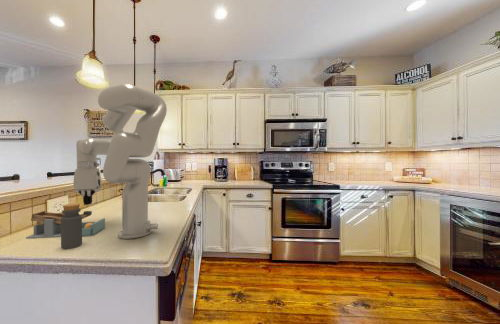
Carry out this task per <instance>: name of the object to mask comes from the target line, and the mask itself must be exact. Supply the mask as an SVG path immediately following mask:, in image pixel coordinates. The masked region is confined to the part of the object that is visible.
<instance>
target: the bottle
mask: <svg viewBox="0 0 500 324" xmlns="http://www.w3.org/2000/svg"><path fill="white" fill-rule="evenodd" d="M80 204H81V203H78V202H77V203H76V202H75V203H66V204H63V205H62V209H63V210H61V214H64V216H63V217H62V218H61V237H60V248H61V249H62V250H71V249H75V248H77V247H78V248H79V247H80V246H81V245H82V244H83V236H82V222H83V219H82V215H81V214H80V212H81V210H82V209H81V207H80V206H81V205H80Z"/></svg>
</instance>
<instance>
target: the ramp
mask: <svg viewBox="0 0 500 324" xmlns="http://www.w3.org/2000/svg"><path fill="white" fill-rule="evenodd" d="M92 213H93V211H92V210H84V211H83V213H82V214H80V215H82V220H83V219H86V218H88V217H90V216H92V215H93V214H92ZM63 216H64V214H63V213H60V212H59V213H58V212H48V211H45V210H42V211H40V212H34V213H32V214H31V219H30V221H31V222H36V225H44V220H46V219H54V223H58V224H61V218H62V217H63Z"/></svg>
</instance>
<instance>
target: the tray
mask: <svg viewBox="0 0 500 324" xmlns="http://www.w3.org/2000/svg"><path fill="white" fill-rule="evenodd" d="M87 223H93V224H91V225H90V228H84V226H85V225H86V224H87ZM104 229H106V218H105V217H103V218H101V219H99V220H98V221H88V222H86V221H85V222H83V221H82V237H92V236H93V237H94V236H95V235H96V234H98V233H100V232H101V231H102V230H104Z"/></svg>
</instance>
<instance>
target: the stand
mask: <svg viewBox="0 0 500 324" xmlns="http://www.w3.org/2000/svg"><path fill="white" fill-rule="evenodd" d="M25 237H26V238H25V239H44V238H61V224H58V223H54V219H46V220H44V225H38V224H36V225H33V234H30V235H28V236H25Z"/></svg>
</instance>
